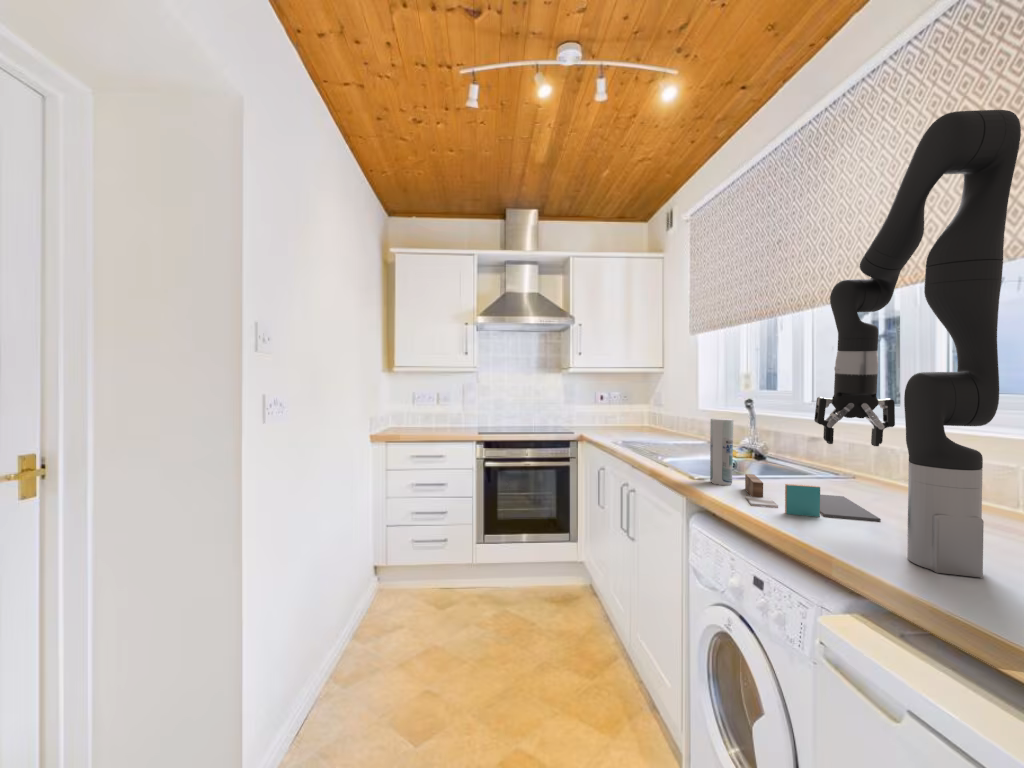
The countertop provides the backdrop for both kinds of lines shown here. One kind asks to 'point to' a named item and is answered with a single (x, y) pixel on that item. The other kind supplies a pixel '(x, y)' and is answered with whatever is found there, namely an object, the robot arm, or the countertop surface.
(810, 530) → the countertop surface
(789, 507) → the tile
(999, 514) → the countertop surface
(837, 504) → the mat
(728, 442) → the spray can
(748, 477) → the turner
